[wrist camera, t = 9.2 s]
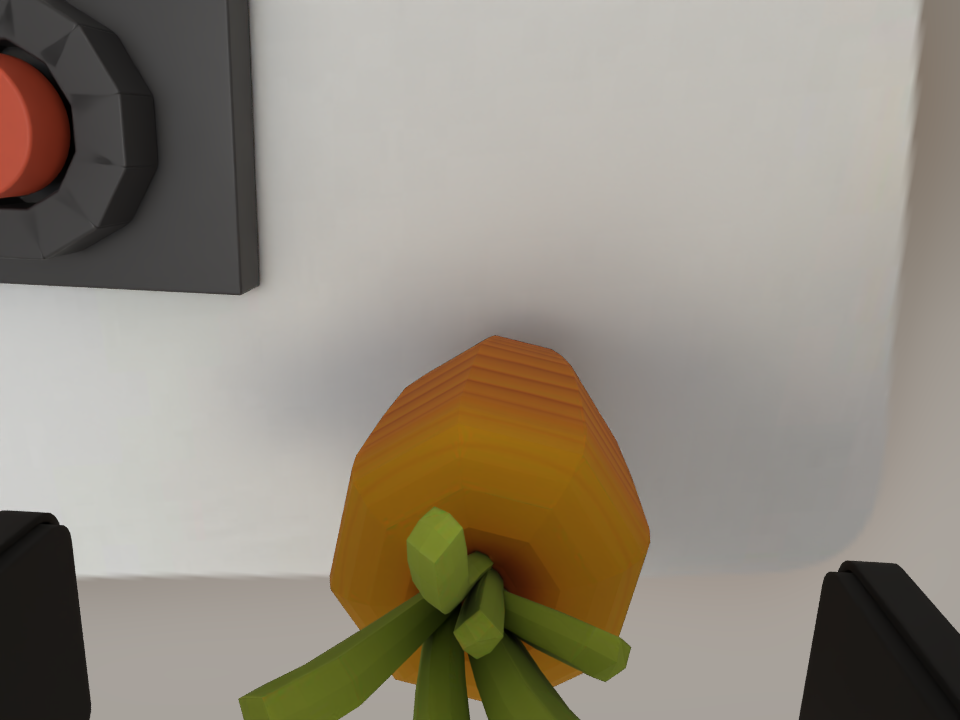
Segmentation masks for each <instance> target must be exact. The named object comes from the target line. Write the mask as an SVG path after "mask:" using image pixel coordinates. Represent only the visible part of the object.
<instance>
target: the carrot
mask: <svg viewBox="0 0 960 720" xmlns="http://www.w3.org/2000/svg"><path fill="white" fill-rule="evenodd" d="M649 544H650V531H649V526H648V523H647V521H646V518H645V515H644V512H643V509H642V506H641V503H640V500H639V497H638V494H637V491H636V488H635V485H634V482H633V479H632V477H631V474H630V472H629V470H628V467H627V465H626V462H625V460H624V458H623V455H622V453H621V451H620V448H619V446H618V443H617V441H616V439H615V438H614V436H613V434H612V433H611V431H610V429H609V428H608V426H607V424H606V423H605V421H604V419H603V418H602V416H601V414H600V413H599V411H598V409H597V408H596V406H595V404H594V403H593V401H592V400H591V398H590V396H589V395H588V393H587V391H586V390H585V388H584V386H583V385H582V383H581V381H580V380H579V378H578V376H577V375H576V373H575V371H574V370H573V368H572V366H571V365H570V364H569V363H568V362H567V361H566V360H565V359H564V358H563V357H562V356H561V355H560V354H558V353H557V352H555V351H553V350H552V349H548V348H544V347H540V346H536V345H532V344H528V343H524V342H520V341H516V340H512V339H508V338H504V337H500V336H496V335H494V336H491V337H489V338H487V339H485V340H484V341H482V342H480V343H478V344H477V345H475V346H473V347H472V348H470V349H468V350H466V351H465V352H463V353H461V354H460V355H458V356H456V357H454V358H453V359H451V360H449V361H448V362H446V363H444V364H442V365H441V366H439V367H437V368H435V369H434V370H432V371H430V372H429V373H427V374H425V375H424V376H422V377H421V378H419V379H418V380H416V381H415V382H413V383H412V384H410V385H409V386H408V387H406V388H405V389H404V390H403V392H402V393H401V394H400V395H399V397H398V398H397V399H396V400H395V402H394V403H393V404H392V405H391V407H390V408H389V409H388V410H387V412H386V413H385V414H384V415H383V417H382V418H381V420H380V421H379V423H378V424H377V426H376V427H375V428H374V430H373V431H372V433H371V434H370V436H369V437H368V439H367V440H366V442H365V443H364V445H363V446H362V448H361V449H360V451H359V452H358V454H357V455H356V458H355V461H354V464H353V467H352V471H351V476H350V481H349V486H348V491H347V496H346V500H345V505H344V510H343V515H342V520H341V525H340V529H339V534H338V539H337V544H336V549H335V553H334V558H333V563H332V568H331V573H330V587H331V591H332V592H333V593H334V595H335V596H336V597H337V599H338V600H339V602H340V603H341V604H342V606H343V607H344V609H345V610H346V611H347V613H348V614H349V615H350V617H351V618H352V620H353V621H354V622H355V624H356V625H357V627H358V628H359V629H360V631H358V632H357V633H355V634H353V635H352V636H350V637H349V638H347V639H346V640H344V641H342V642H340V643H339V644H337V645H336V646H334V647H332V648H331V649H329V650H327V651H326V652H324V653H323V654H321V655H319V656H318V657H316V658H315V659H313V660H311V661H310V662H308V663H306V664H305V665H303V666H301V667H299V668H297V669H295V670H293V671H291V672H289V673H287V674H285V675H283V676H281V677H279V678H277V679H275V680H273V681H271V682H268V683H266V684H264V685H262V686H261V687H259V688H257V689H255V690H254V691H252V692H250V693H248V694H246V695H245V696H243V697H241V698H239V703H240V707H241V710H242V714H243V718H244V720H338V719H340V718H341V717H343V716H345V715H346V714H348V713H349V712H351V711H352V710H354V709H355V708H357V707H359V706H360V705H361V704H362V703H363V702H364V701H365V700H366V699H367V698H368V697H369V696H370V695H371V694H372V693H374V692H375V691H376V690H377V689H378V688H379V687H380V686H381V685H382V684H383V683H384V682H385V681H386V680H387V679H388V678H389V677H390V676H391V675H393V677H394V678H395V679H396V680H400V681H404V682H408V683H411V684H416V692H415V705H414V716H413V720H470V715H469V706H468V698H471V699H475V700H479V701H482V703H483V706H484V709H485V711H486V714H487V717H488V720H580V719H579V718H578V717H577V716H576V715H575V714H574V713H573V712H572V711H571V710H570V709H569V708H568V706H567V705H566V704H565V702H564V701H563V700H562V698H561V697H560V696H559V694H558V693H557V692H556V690H555V689H554V688H553V687H554V686H557V685H559V684H561V683H563V682H565V681H567V680H569V679H572V678H574V677H576V676H578V675H580V674H582V673H585V674H587V675H589V676H591V677H593V678H596V679H599V680H601V681H604V682H606V681H608V680H609V679H611V678H612V677H613V676H615V675H616V674H618V673H619V672H621V671H622V670H624V669H625V668H626V665H627V661H628V657H629V653H630V649H631V647H630V646H629V645H628V644H627V643H626V642H625V641H624V640H623V639H621V638H620V637H619V635H620V632H621V629H622V626H623V622H624V620H625V617H626V614H627V611H628V608H629V605H630V601H631V599H632V596H633V592H634V590H635V587H636V584H637V581H638V578H639V575H640V572H641V569H642V566H643V563H644V560H645V557H646V554H647V550H648V547H649Z"/></svg>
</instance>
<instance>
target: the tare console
mask: <svg viewBox="0 0 960 720" xmlns="http://www.w3.org/2000/svg"><path fill="white" fill-rule="evenodd" d="M0 53H2V54H7V55H11V56H14V57H16V58H19V59H21V60H23V61H25V62H27V63H29V64H30V65H32V66H33V67H35V68H36V69H37V70H38V71H40V72H41V73H42V74H43V75H44V76H45V77H46V78H47V79H48V80H49V81H50V83H51V84H52V85H53V86H54V88H55V89H56V91H57V92H58V94H59V96H60V98H61V99H62V101H63V104H64V106H65V108H66V111H67V115H68V118H69V124H70V134H71V140H70V149H69V153H68V157H67V159H66V162H65V164H64V166H63V168H62V170H61V172H60V173H59V174H58V176H57V177H56V178H55V179H54V180H53V181H52V182H51V183H50V184H49V185H47V186H46V187H45V188H43V189H41V190H39V191H37V192H35V193H32V194H29V195H24V196H16V197H6V198H0V283H9V284H29V285H49V286H69V287H88V288H108V289H128V290H148V291H167V292H187V293H207V294H227V295H242V294H244V293H246V292H248V291H250V290H251V289H253V288H255V287H257V286H259V267H258V242H257V217H256V192H255V167H254V142H253V117H252V92H251V67H250V42H249V17H248V0H0Z"/></svg>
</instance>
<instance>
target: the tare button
mask: <svg viewBox="0 0 960 720" xmlns="http://www.w3.org/2000/svg"><path fill="white" fill-rule="evenodd" d="M70 140H71V134H70V124H69V118H68V115H67V111H66V108H65V106H64V104H63V101H62V99H61V98H60V96H59V94H58V92H57V91H56V89H55V88H54V86H53V85H52V84H51V83H50V81H49V80H48V79H47V78H46V77H45V76H44V75H43V74H42V73H41V72H40V71H38V70H37V69H36V68H35V67H33V66H32V65H30V64H29V63H27V62H25V61H23V60H21V59H19V58H16V57H14V56H11V55H7V54H2V53H0V198H6V197H16V196H24V195H29V194H32V193H35V192H37V191H39V190H41V189H43V188H45V187H46V186H47V185H49V184H50V183H51V182H52V181H53V180H54V179H55V178H56V177H57V176H58V174H59V173H60V172H61V170H62V168H63V166H64V164H65V162H66V159H67V157H68V153H69V149H70Z"/></svg>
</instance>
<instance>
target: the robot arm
mask: <svg viewBox="0 0 960 720" xmlns="http://www.w3.org/2000/svg"><path fill="white" fill-rule="evenodd" d="M90 713H91V700H90V691H89V683H88V674H87V667H86V658H85V649H84V641H83V632H82V624H81V615H80V607H79V599H78V590H77V582H76V573H75V565H74V556H73V548H72V539H71V535H70V532H69V530H68V528H67V527H65V526H64V525H59V522H58V520H57V519H56V517H55V516H54V515H52V514H51V513H41V512H25V511H0V720H89V719H90ZM799 720H960V634H959V633H958V632H957V631H956V629H955V628H954V627H953V626H952V625H951V624H950V623H949V622H948V620H947V619H946V618H945V617H944V616H943V615H942V614H941V612H940V611H939V610H938V609H937V608H936V607H935V605H934V604H933V603H932V602H931V601H930V600H929V599H928V598H927V596H926V595H925V594H924V593H923V592H922V591H921V589H920V588H919V587H918V586H917V585H916V584H915V582H914V581H913V580H912V579H911V578H910V577H909V576H908V574H906V572H905V571H904V570H903V569H902V568H901V567H900V566H899V565H897V564H893V563H879V562H862V561H845V562H843V563H842V564H841V566H840V568H839V570H838V572H828V573H827V574H826V576H825V577H824V580H823V584H822V590H821V595H820V601H819V608H818V613H817V619H816V624H815V630H814V636H813V641H812V648H811V653H810V658H809V665H808V670H807V676H806V681H805V687H804V694H803V699H802V704H801V710H800V716H799Z"/></svg>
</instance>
